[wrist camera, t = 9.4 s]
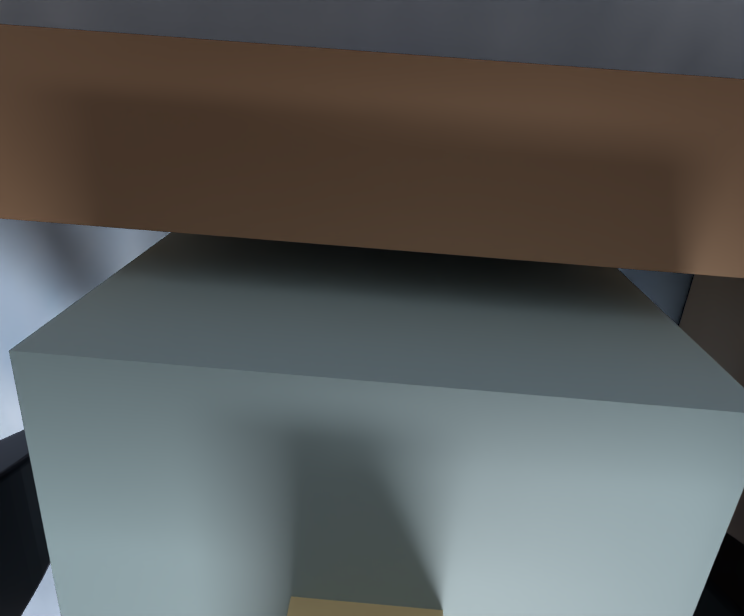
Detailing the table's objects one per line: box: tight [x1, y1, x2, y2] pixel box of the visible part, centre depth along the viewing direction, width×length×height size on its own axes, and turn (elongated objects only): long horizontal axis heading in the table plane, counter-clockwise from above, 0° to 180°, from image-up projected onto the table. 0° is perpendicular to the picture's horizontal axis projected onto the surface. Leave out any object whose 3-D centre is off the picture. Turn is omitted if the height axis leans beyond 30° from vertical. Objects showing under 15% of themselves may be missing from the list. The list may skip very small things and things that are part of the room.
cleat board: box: [0, 24, 744, 544], centre depth 8 cm, size 11×19×4 cm, turn 86°
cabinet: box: [9, 232, 744, 616], centre depth 7 cm, size 7×5×7 cm
